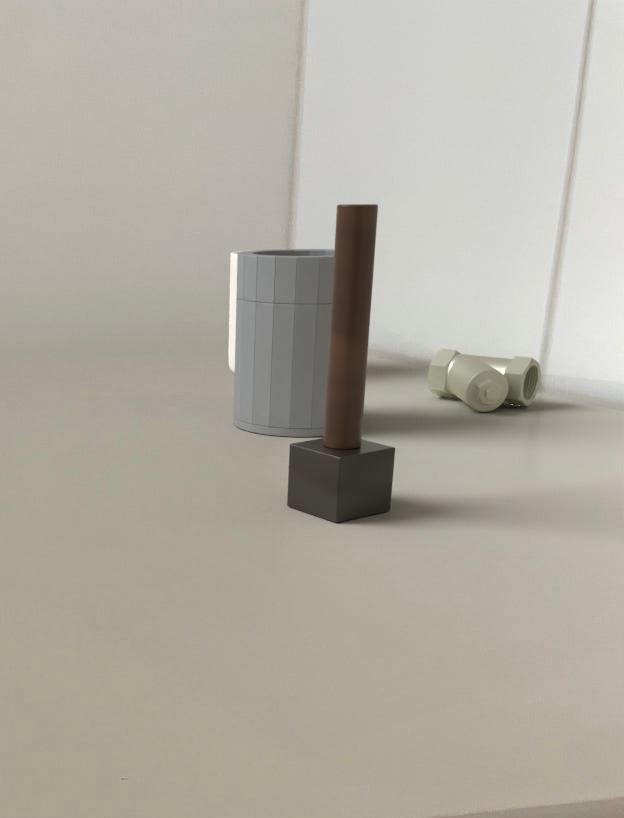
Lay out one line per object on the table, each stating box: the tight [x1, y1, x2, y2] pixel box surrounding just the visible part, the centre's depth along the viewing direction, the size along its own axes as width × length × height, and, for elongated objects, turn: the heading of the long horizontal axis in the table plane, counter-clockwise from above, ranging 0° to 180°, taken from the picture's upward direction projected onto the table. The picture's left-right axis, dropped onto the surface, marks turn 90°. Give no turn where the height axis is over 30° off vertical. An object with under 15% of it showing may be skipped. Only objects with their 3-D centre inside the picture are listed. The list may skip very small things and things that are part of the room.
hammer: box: [286, 203, 396, 523], centre depth 56 cm, size 4×4×16 cm
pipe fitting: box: [427, 348, 542, 413], centre depth 85 cm, size 8×4×7 cm
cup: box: [233, 248, 335, 438], centre depth 78 cm, size 9×9×12 cm
